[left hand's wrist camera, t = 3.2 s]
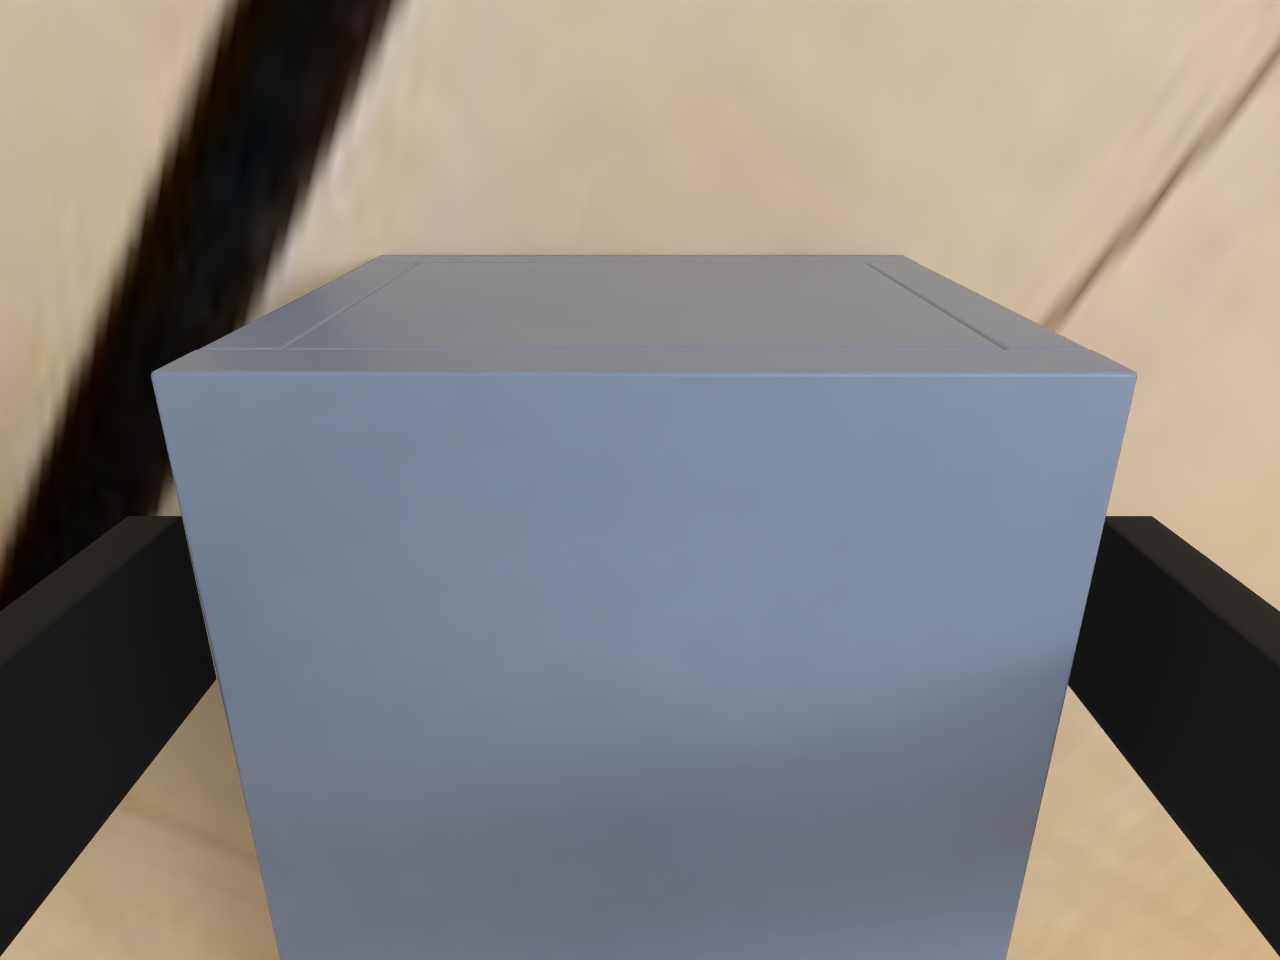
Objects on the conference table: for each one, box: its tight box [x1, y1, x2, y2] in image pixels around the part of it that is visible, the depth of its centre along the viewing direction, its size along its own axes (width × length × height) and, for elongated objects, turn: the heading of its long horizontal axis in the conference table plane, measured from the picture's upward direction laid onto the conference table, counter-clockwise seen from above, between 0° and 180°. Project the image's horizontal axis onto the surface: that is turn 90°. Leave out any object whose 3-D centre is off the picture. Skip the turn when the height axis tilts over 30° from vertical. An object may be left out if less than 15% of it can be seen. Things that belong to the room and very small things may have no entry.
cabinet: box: [151, 255, 1137, 960], centre depth 17 cm, size 22×10×8 cm, turn 0°
